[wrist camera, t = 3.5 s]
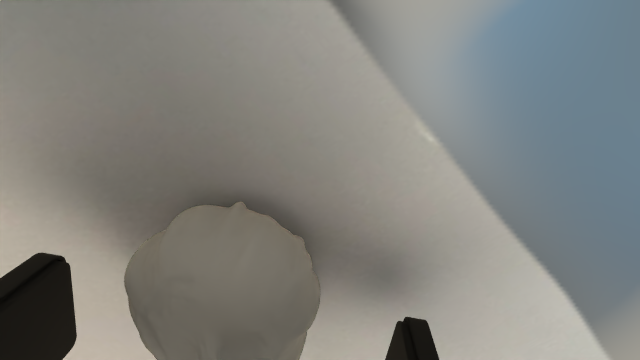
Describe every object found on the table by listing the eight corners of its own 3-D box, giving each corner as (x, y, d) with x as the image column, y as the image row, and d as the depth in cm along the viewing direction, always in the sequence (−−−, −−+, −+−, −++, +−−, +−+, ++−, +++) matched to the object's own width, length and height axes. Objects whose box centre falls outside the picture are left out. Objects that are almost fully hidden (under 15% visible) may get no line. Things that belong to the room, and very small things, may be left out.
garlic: (357, 238, 13) (370, 360, 8) (279, 334, 15) (251, 481, 10) (208, 147, 12) (119, 222, 7) (144, 261, 14) (36, 384, 9)
